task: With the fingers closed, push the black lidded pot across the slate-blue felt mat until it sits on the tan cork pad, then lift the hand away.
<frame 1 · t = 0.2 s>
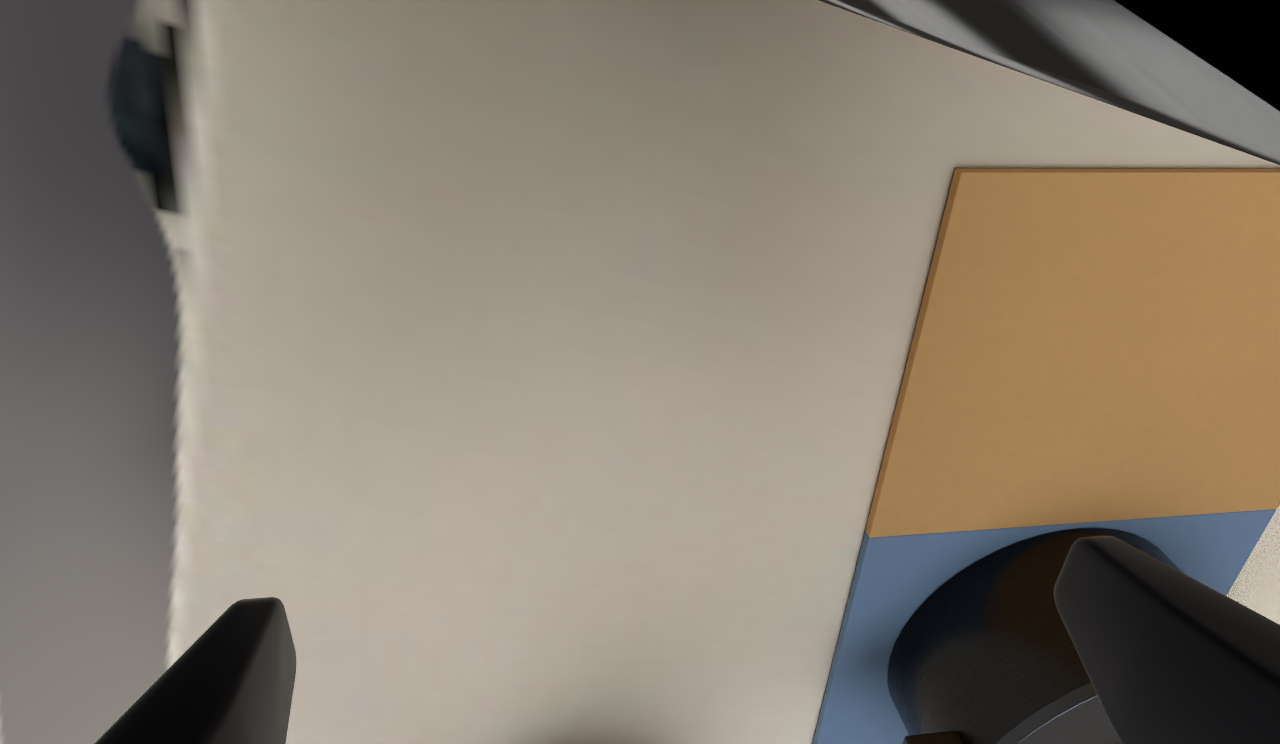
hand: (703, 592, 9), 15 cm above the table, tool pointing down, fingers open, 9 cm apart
pot: (1031, 641, 34), resting on desk mat
desk mat: (1075, 516, 31), on the table
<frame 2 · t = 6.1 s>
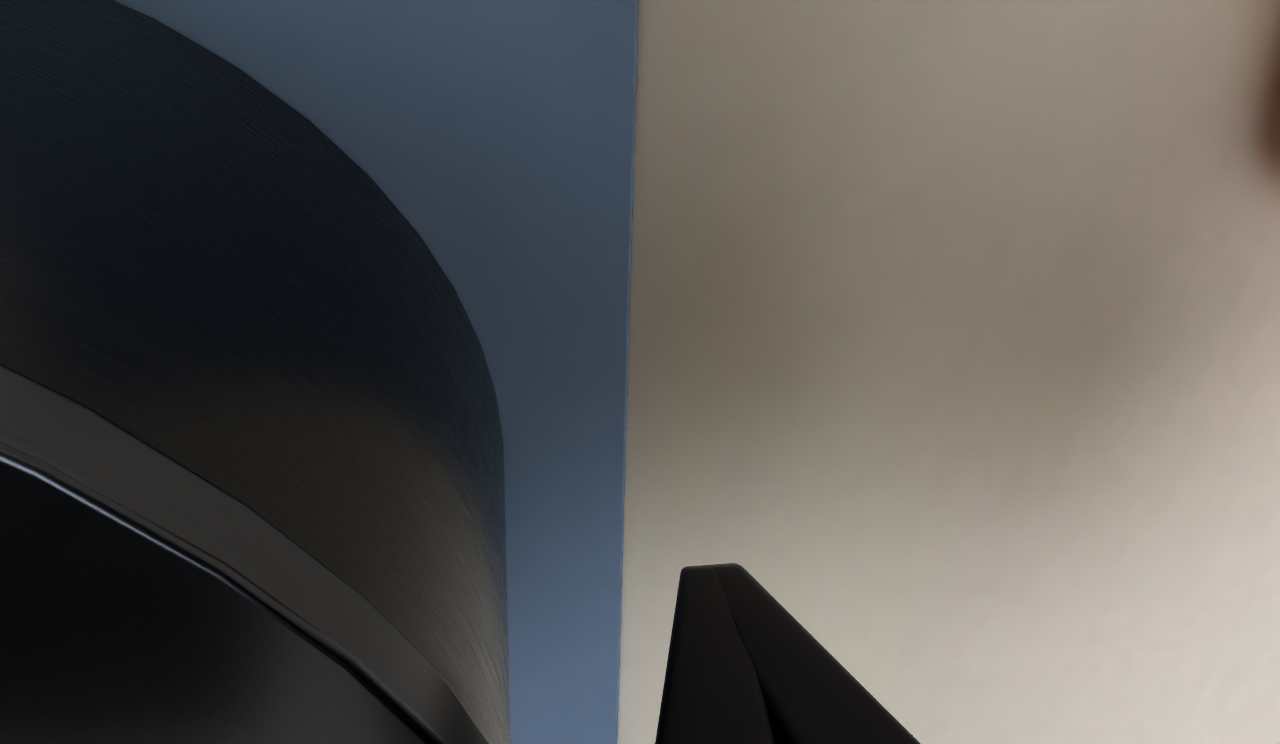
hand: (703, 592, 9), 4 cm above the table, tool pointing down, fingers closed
pot: (11, 471, 10), resting on desk mat, touching gripper
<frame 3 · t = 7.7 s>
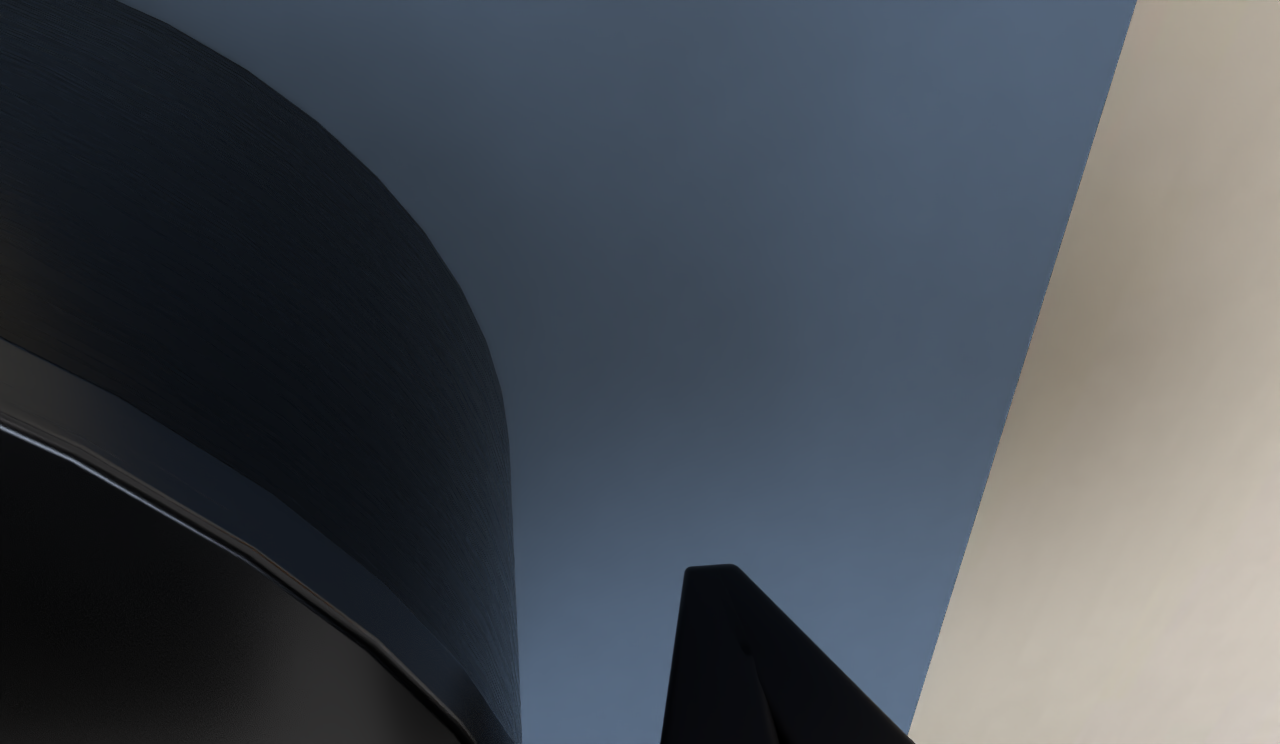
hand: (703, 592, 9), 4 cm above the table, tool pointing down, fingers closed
pot: (21, 471, 11), resting on desk mat, touching gripper
desk mat: (54, 458, 11), on the table
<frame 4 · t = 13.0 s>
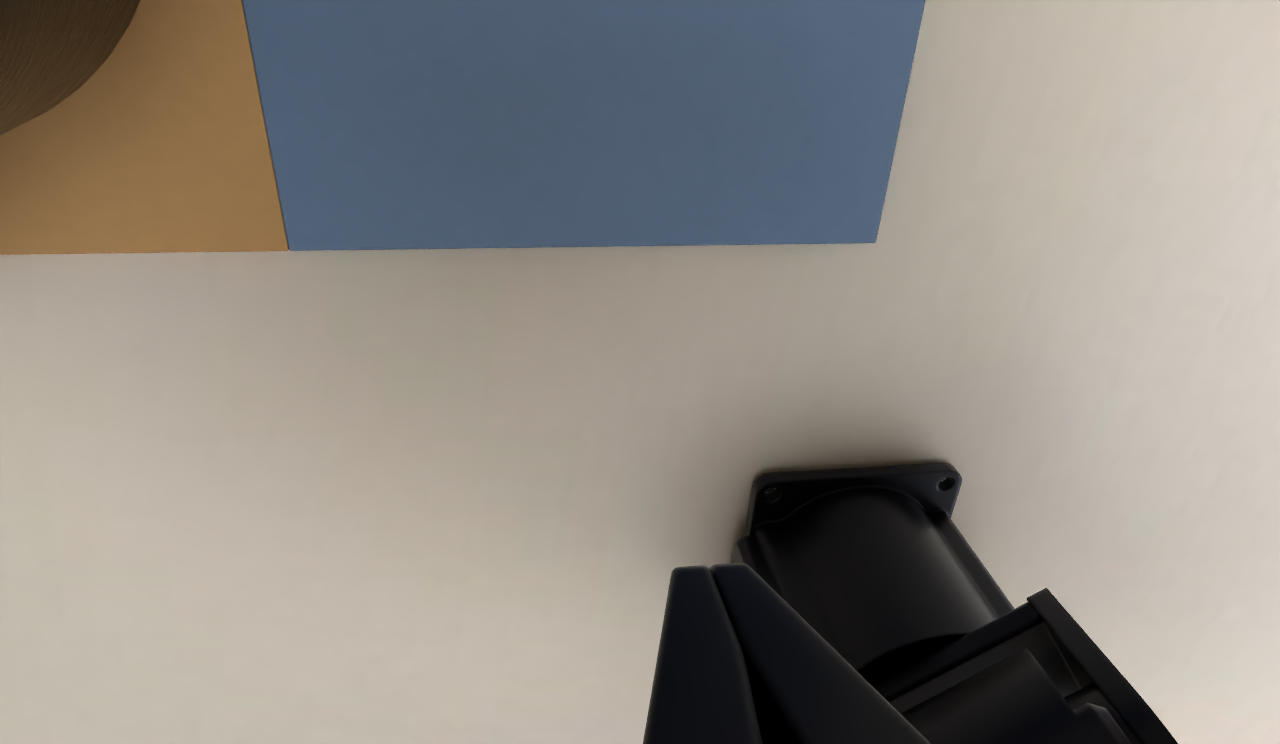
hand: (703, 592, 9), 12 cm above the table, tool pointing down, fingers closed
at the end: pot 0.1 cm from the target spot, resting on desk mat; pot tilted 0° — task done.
